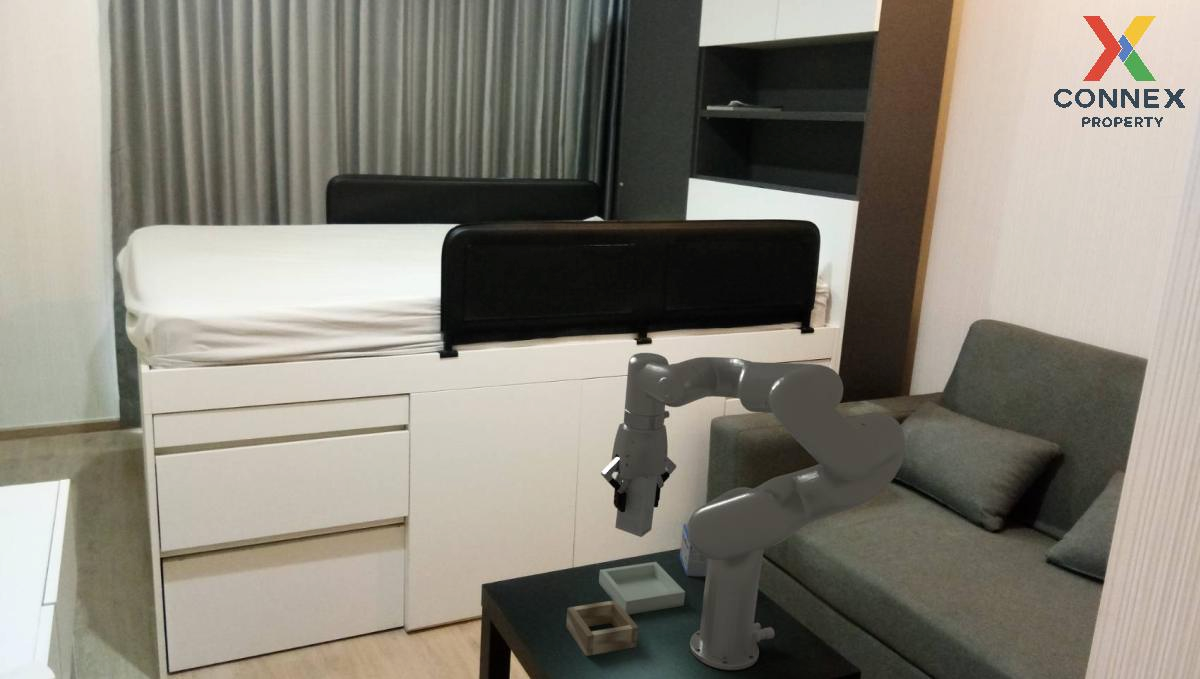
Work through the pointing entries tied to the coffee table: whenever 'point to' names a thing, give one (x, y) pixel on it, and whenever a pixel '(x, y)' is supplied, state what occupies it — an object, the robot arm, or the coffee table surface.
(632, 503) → the skincare box
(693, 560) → the medicine box
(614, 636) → the collar
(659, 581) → the tray
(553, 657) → the coffee table surface
